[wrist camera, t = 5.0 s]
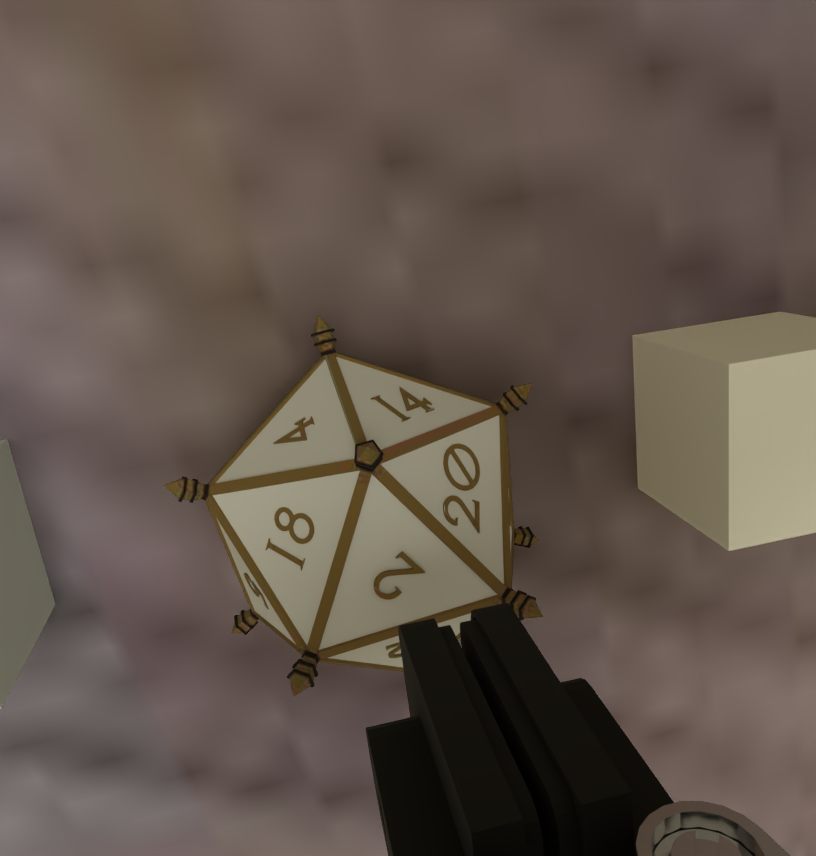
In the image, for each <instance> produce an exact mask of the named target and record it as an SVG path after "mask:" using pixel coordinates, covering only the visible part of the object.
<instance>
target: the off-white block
mask: <svg viewBox="0 0 816 856" xmlns="http://www.w3.org/2000/svg"><path fill="white" fill-rule="evenodd" d="M632 341H633V369H634V396H635V423H636V451H637V478H638V489H640V490H641V491H643V492H644V493H645V494H647V495H648V496H650V497H651V498H653V499H654V500H656V501H657V502H658V503H660V504H661V505H663V506H664V507H666V508H667V509H669V510H670V511H671V512H673V513H674V514H676V515H677V516H679V517H680V518H682V519H683V520H684V521H686V522H687V523H689V524H690V525H692V526H693V527H695V528H696V529H697V530H699V531H700V532H702V533H703V534H705V535H706V536H708V537H709V538H711V539H712V540H713V541H715V542H716V543H718V544H719V545H721V546H722V547H724V548H725V549H726V550H728V551H732V550H736V549H741V548H746V547H750V546H755V545H760V544H764V543H769V542H774V541H779V540H783V539H788V538H793V537H797V536H802V535H807V534H811V533H816V318H815V317H809V316H803V315H797V314H791V313H785V312H774V313H768V314H762V315H756V316H749V317H743V318H737V319H731V320H725V321H718V322H712V323H706V324H700V325H694V326H687V327H681V328H675V329H669V330H662V331H656V332H650V333H644V334H638V335H632Z"/></svg>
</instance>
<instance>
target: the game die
mask: <svg viewBox="0 0 816 856" xmlns="http://www.w3.org/2000/svg"><path fill="white" fill-rule="evenodd" d="M333 331H335V330H334V329H331V328H330V327H329V326H328V325H327V324H326V323H325V322H324V321H323V320H322V319H321V318H320V317H319V316H318V319H317V322H316V326H315V329H314V332H313V334H311V337H313V336H314V339H315V342H316V343H315V344H314V345H315V346H317V347H318V348H319V350H320V351H321V357H320V358H319V359H318V360H317V361H316V363H315V364H314V365H313V366H312V367H311V368H310V369H309V370H308V372H307V373H306V374H305V375H304V376H303V377H302V378H301V380H300V381H299V382H298V383H297V384H296V385H295V386H294V387H293V389H292V390H291V391H290V392H289V393H288V394H287V395H286V396H285V398H284V399H283V400H282V401H281V402H280V403H279V404H278V405H277V407H276V408H275V409H274V410H273V411H272V412H271V413H270V414H269V416H268V417H267V418H266V419H265V420H264V421H263V422H262V423H261V425H260V426H259V427H258V428H257V429H256V430H255V431H254V432H253V434H252V435H251V436H250V437H249V438H248V439H247V440H246V441H245V443H244V444H243V445H242V446H241V447H240V448H239V449H238V450H237V452H236V453H235V454H234V455H233V456H232V457H231V458H230V459H229V461H228V462H227V463H226V464H225V465H224V466H223V467H222V468H221V470H220V471H219V472H218V473H217V474H216V475H215V476H214V477H213V479H212V480H211V481H210V482H209V483H208V484H202V483H199V482H198V480H197V479H193V480H188V479H187V477H182V479H179V480H177V481H174V482H171V483H169V484H166V485H164V486H165V487H166V488H167V489H168V490H170V491H171V492H172V493H173V494H174V495H175V496H176V497H178V498H179V502H182V500H190V502H191V503H193V501H194V500H198V499H203V500H206V503H207V505H208V507H209V510H210V512H211V515H212V517H213V519H214V522H215V524H216V526H217V529H218V531H219V534H220V536H221V538H222V541H223V543H224V546H225V548H226V550H227V553H228V555H229V558H230V560H231V562H232V565H233V567H234V570H235V572H236V574H237V577H238V579H239V581H240V584H241V586H242V589H243V591H244V593H245V596H246V598H247V601H248V603H249V605H250V608H251V609H250V610H247V611H244V610H242V611H241V614H240V615H239V616H238V615H235V616H234V619H235V622H234V626H233V630H232V633H244V634H245V635H246V634H247V633H248V632H249V631H250V630H251V629H253V628H254V626H255V625H256V624H257V623H258V622H257V620H258V619H260V620H261V621H263V622H264V623H265V624H266V625H267V626H268V627H270V628H271V629H272V630H273V631H274V632H276V633H277V634H278V635H279V636H280V637H282V638H283V639H284V640H285V641H286V642H288V643H289V644H290V645H291V646H292V647H294V648H295V649H296V650H297V651H298V652H299V653H301V654H302V659H299V660H298V661H297V662H296V663H295V664H294V665H293V667H292V668H294V669H293V670H292V671H291V672H290V674H289V675H288V676H287V678H289V679H290V683H291V688H292V693H293V696H295V695H297V694H298V693H300V692H302V691H303V690H305V689H306V688H308V687H314V682H313V680H314V677H317V676H318V673H317V670H316V666H317V663H318V662H322V663H331V664H340V665H349V666H358V667H366V668H375V669H384V670H393V671H402V672H404V669H403V662H402V655H401V648H400V641H399V634H398V626H399V625H404V624H409V623H413V622H418V621H423V620H427V619H432V618H434V619H435V620H436V622H437V625H438V627H442V626H447V625H450V626H451V627H452V629H453V631H454V633H455V636H456V638H457V640H458V639H459V638H460V637H461V636H460V623H461V622H465V621H470V620H471V611H472V610H474V609H479V608H484V607H488V606H493V605H498V604H502V603H508V604H509V605H510V606H511V608H512V609H513V611H514V612H515V614H517V615H518V616H519V620H523V619H524V618H533V617H543V616H542V614H541V612H540V610H539V608H538V606H537V604H536V602H535V601H536V598H535V597H532V596H529V595H527V593H525V592H522V591H519V590H518V591H517V592H516V591H514V590H513V589H512V574H513V554H514V545H518V546H524V547H528V548H530V546H531V545H532V544H533V543H534V542H536V541H537V540H538V538H537V537H536V536H535V535H534V534H533V533H532V532H531V530H530V528H529V527H526V528H525V529H524V528H522V526H520V527H519V528H518V529H514V521H513V507H512V493H511V479H510V465H509V451H508V437H507V423H506V415H507V414H508V412H511V411H513V410H517V411H518V410H519V407H520V406H521V405H523V404H525V405H526V404H527V402H526V400H527V397H528V394H529V391H530V387H531V384H532V383H530V384H525V385H519V386H513V385H512V386H511V387H510V388H511V389H510V390H509V391H508V392H507V393H506V392H504V393H503V398H502V399H501V400H500V402H498V403H493V402H490V401H487V400H484V399H481V398H478V397H475V396H472V395H468V394H465V393H462V392H459V391H456V390H453V389H450V388H446V387H443V386H440V385H437V384H434V383H431V382H428V381H424V380H421V379H418V378H415V377H412V376H409V375H406V374H402V373H399V372H396V371H393V370H390V369H387V368H384V367H380V366H377V365H374V364H371V363H368V362H365V361H362V360H358V359H355V358H352V357H349V356H346V355H343V354H340V353H336V351H335V341H337V340H336V338H334V335H333ZM526 595H527V596H526Z"/></svg>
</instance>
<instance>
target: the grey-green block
mask: <svg viewBox="0 0 816 856" xmlns="http://www.w3.org/2000/svg"><path fill="white" fill-rule="evenodd" d="M55 605H56V604H55V601H54V597H53V594H52V591H51V587H50V584H49V580H48V577H47V574H46V570H45V567H44V563H43V560H42V556H41V553H40V550H39V546H38V543H37V539H36V536H35V533H34V529H33V526H32V522H31V519H30V516H29V512H28V509H27V505H26V502H25V498H24V495H23V492H22V488H21V485H20V481H19V478H18V475H17V471H16V468H15V464H14V461H13V458H12V454H11V451H10V447H9V444H8V440H7V439H5V440H0V709H1V708H2V706H3V704H4V702H5V701H6V699H7V697H8V695H9V693H10V691H11V689H12V687H13V685H14V683H15V681H16V679H17V678H18V676H19V674H20V672H21V670H22V668H23V666H24V664H25V662H26V660H27V658H28V656H29V655H30V653H31V651H32V649H33V647H34V645H35V643H36V641H37V639H38V637H39V635H40V633H41V632H42V630H43V628H44V626H45V624H46V622H47V620H48V618H49V616H50V614H51V612H52V610H53V609H54V607H55Z"/></svg>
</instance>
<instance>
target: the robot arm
mask: <svg viewBox="0 0 816 856" xmlns="http://www.w3.org/2000/svg"><path fill="white" fill-rule="evenodd" d="M398 634H399V641H400V648H401V655H402V662H403V669H404V676H405V683H406V690H407V696H408V703H409V710H410V717H411V718H406V719H402V720H398V721H393V722H389V723H385V724H380V725H376V726H372V727H368V728H366V734H367V741H368V747H369V753H370V759H371V765H372V771H373V777H374V783H375V788H376V794H377V799H378V805H379V810H380V815H381V821H382V826H383V831H384V836H385V841H386V846H387V851H388V856H790V855H789V854H788V853H787V852H786V851H785V850H784V849H783V848H782V847H781V846H780V845H779V844H777V843H776V842H775V841H774V840H773V839H772V838H771V837H770V836H769V835H768V834H767V833H766V832H765V831H764V830H763V829H762V828H760V827H759V826H758V825H756V824H755V823H754V822H752V821H751V820H750V819H748V818H747V817H746V816H744V815H742V814H740V813H738V812H736V811H734V810H731V809H729V808H727V807H725V806H722V805H717V804H713V803H708V802H704V801H680V802H676V803H674V802H673V801H672V799H671V798H670V797H669V795H668V794H667V792H666V791H665V789H664V788H663V787H662V785H661V784H660V782H659V781H658V780H657V778H656V777H655V775H654V774H653V773H652V771H651V770H650V768H649V767H648V766H647V764H646V763H645V761H644V760H643V759H642V757H641V756H640V754H639V753H638V752H637V750H636V749H635V747H634V746H633V745H632V743H631V742H630V740H629V739H628V737H627V736H626V735H625V733H624V732H623V730H622V729H621V728H620V726H619V725H618V723H617V722H616V721H615V719H614V718H613V716H612V715H611V714H610V712H609V711H608V709H607V708H606V707H605V705H604V704H603V702H602V701H601V700H600V698H599V697H598V695H597V694H596V693H595V691H594V690H593V688H592V687H591V686H590V685H589V683H588V682H587V681H586V680H584V679H582V678H579V679H574V680H570V681H566V682H561V683H560V681H559V680H558V678H557V677H556V675H555V674H554V672H553V670H552V669H551V667H550V666H549V664H548V663H547V661H546V660H545V658H544V657H543V655H542V654H541V652H540V651H539V649H538V647H537V646H536V644H535V643H534V641H533V640H532V638H531V637H530V635H529V634H528V632H527V631H526V629H525V627H524V626H523V624H522V623H521V621H520V620H519V618H518V617H517V615H516V614H515V612H514V611H513V609H512V608H511V606H510V605H509V604H508V603H502V604H498V605H493V606H488V607H484V608H479V609H474V610H472V611H471V620H470V621H465V622H461V623H460V636H461V645H462V648H461V646H460V644H459V642H458V640H457V638H456V636H455V633H454V631H453V629H452V627H451V626H450V625H447V626H442V627H438V625H437V622H436V620H435V619H434V618H432V619H427V620H423V621H418V622H413V623H409V624H404V625H399V626H398Z"/></svg>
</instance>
